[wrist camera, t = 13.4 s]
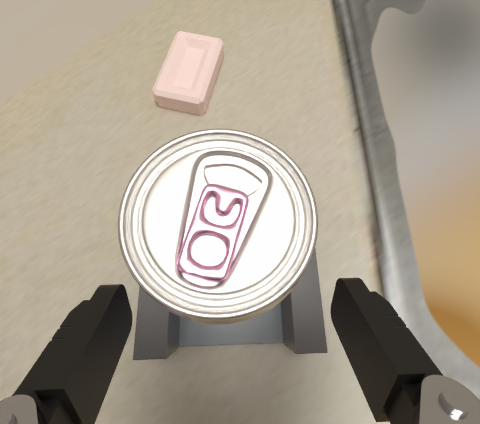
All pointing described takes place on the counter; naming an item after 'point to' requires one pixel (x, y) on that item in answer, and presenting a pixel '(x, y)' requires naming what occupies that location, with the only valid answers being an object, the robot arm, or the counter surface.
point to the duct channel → (237, 324)
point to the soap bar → (189, 73)
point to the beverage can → (218, 226)
